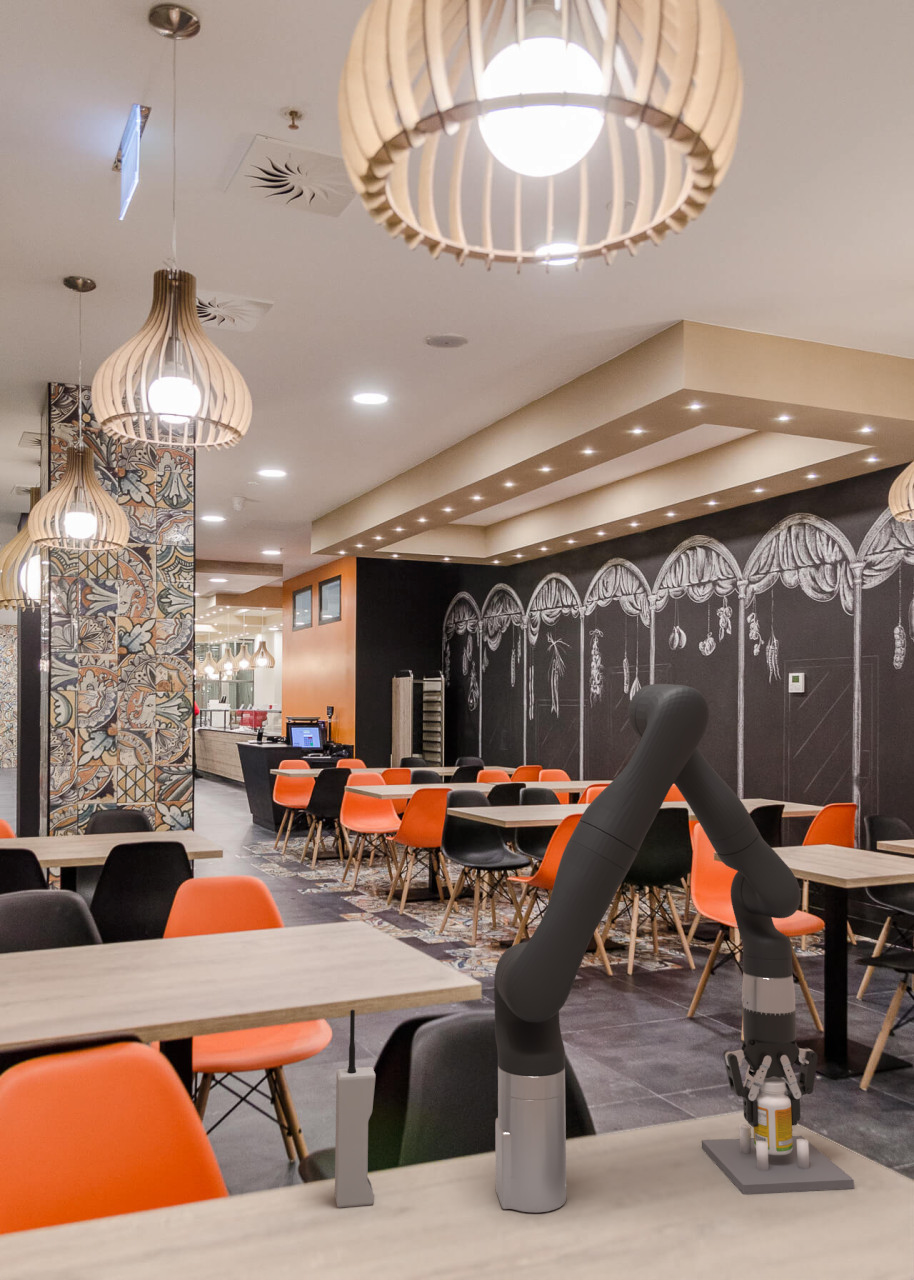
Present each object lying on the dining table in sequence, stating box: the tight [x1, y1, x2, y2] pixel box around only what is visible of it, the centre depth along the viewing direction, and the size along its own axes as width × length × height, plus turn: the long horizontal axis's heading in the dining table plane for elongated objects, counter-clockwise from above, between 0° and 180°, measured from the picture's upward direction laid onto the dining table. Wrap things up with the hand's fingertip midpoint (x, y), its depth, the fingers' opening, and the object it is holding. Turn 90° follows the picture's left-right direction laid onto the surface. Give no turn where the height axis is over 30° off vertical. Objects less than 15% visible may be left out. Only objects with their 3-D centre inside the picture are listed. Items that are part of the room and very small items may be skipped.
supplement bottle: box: [753, 1076, 793, 1155], centre depth 146 cm, size 5×5×10 cm
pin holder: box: [701, 1124, 855, 1195], centre depth 146 cm, size 16×16×5 cm
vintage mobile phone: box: [334, 1009, 377, 1209], centre depth 136 cm, size 4×5×25 cm
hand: (772, 1123), depth 146 cm, fingers closed on supplement bottle, 5 cm apart
